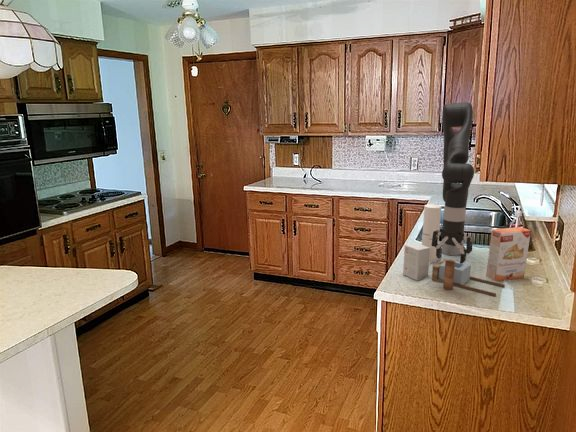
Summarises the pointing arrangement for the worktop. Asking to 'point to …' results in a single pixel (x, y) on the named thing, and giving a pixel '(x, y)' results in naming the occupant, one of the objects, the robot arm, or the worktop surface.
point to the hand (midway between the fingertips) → (450, 260)
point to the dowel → (449, 274)
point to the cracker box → (508, 253)
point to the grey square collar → (457, 272)
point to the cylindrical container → (431, 228)
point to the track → (435, 278)
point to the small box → (416, 261)
